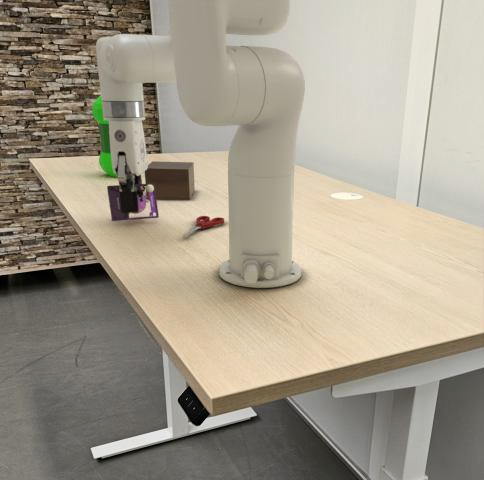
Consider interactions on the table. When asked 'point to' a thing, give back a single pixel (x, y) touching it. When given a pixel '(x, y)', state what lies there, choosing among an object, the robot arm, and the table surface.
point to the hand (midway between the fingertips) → (133, 208)
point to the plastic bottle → (103, 138)
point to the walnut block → (171, 179)
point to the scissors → (206, 223)
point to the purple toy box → (116, 203)
